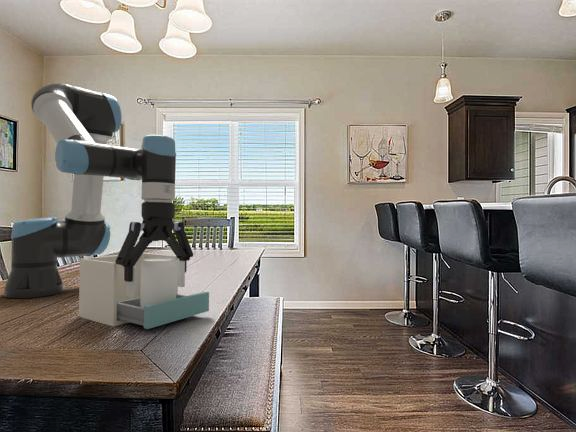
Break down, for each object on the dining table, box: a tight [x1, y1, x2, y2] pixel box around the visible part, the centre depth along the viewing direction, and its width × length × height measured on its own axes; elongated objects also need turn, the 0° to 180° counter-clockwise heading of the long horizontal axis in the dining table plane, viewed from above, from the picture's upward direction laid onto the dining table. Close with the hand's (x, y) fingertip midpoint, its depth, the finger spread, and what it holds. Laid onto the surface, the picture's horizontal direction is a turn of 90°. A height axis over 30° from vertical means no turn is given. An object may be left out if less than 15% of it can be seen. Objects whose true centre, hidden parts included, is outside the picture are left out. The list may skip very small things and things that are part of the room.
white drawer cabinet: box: [78, 252, 179, 327], centre depth 93 cm, size 14×18×14 cm
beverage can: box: [140, 258, 177, 308], centre depth 88 cm, size 8×8×12 cm
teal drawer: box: [117, 291, 210, 330], centre depth 87 cm, size 14×18×5 cm
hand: (157, 290), depth 88 cm, fingers open, 13 cm apart
